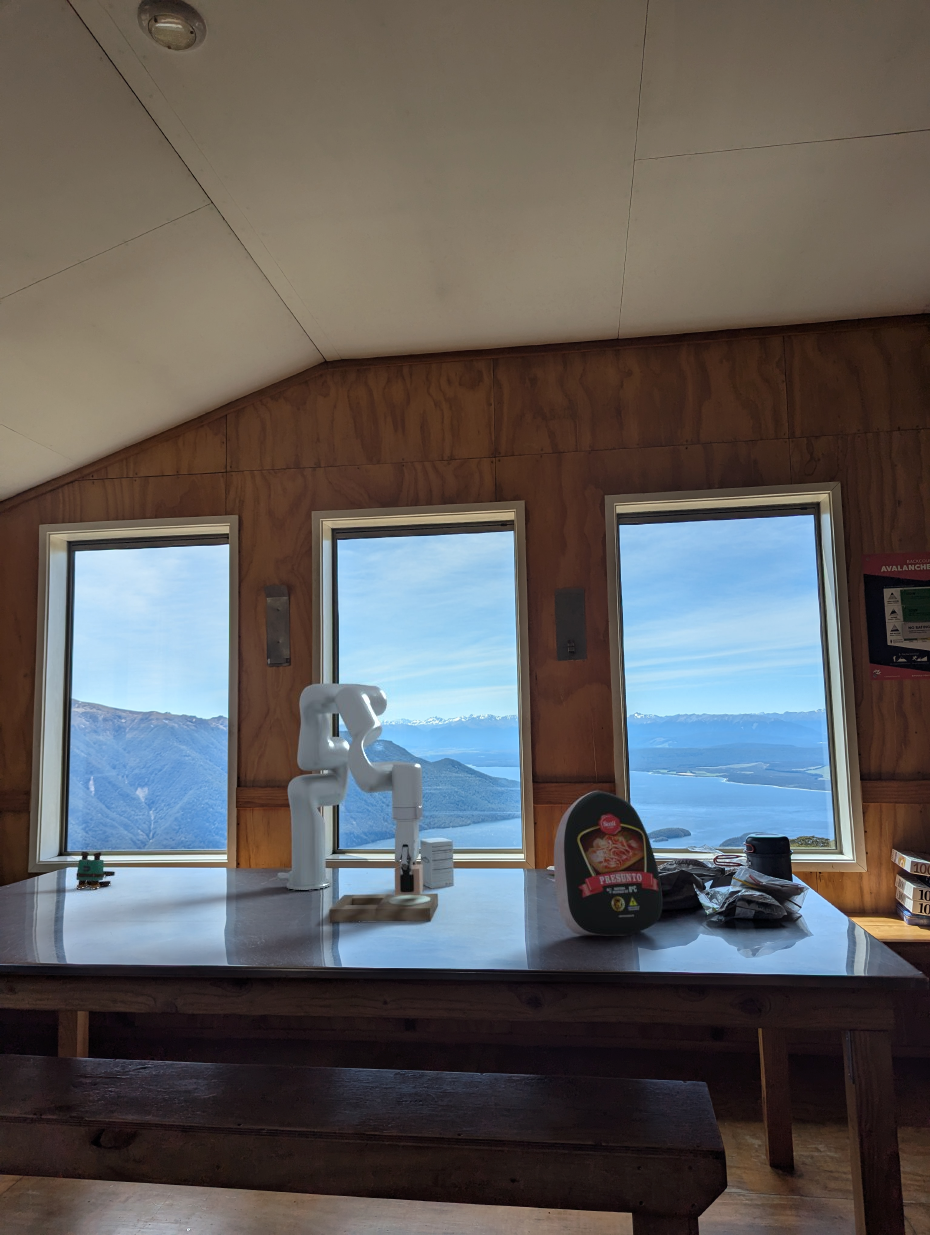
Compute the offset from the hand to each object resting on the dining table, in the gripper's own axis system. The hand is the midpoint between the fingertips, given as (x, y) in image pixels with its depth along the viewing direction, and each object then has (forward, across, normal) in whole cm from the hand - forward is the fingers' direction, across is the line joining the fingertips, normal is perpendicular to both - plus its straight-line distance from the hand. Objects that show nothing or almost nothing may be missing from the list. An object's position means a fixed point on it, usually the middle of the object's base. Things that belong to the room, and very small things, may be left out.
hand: (409, 888), depth 207 cm
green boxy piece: (+6, -39, -100) cm, 107 cm away
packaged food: (+6, +21, +46) cm, 51 cm away
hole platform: (+6, 0, -6) cm, 8 cm away
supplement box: (+6, -34, +3) cm, 35 cm away
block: (+1, 0, 0) cm, 1 cm away
